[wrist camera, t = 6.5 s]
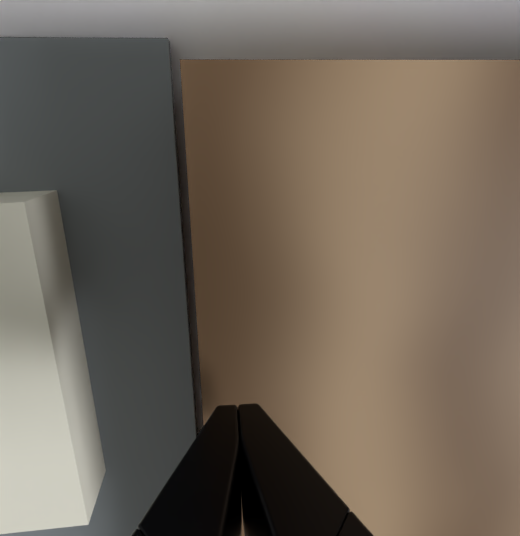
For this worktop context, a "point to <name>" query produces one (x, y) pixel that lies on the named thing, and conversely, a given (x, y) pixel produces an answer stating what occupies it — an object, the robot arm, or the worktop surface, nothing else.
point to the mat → (112, 244)
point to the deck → (366, 275)
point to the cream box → (43, 375)
